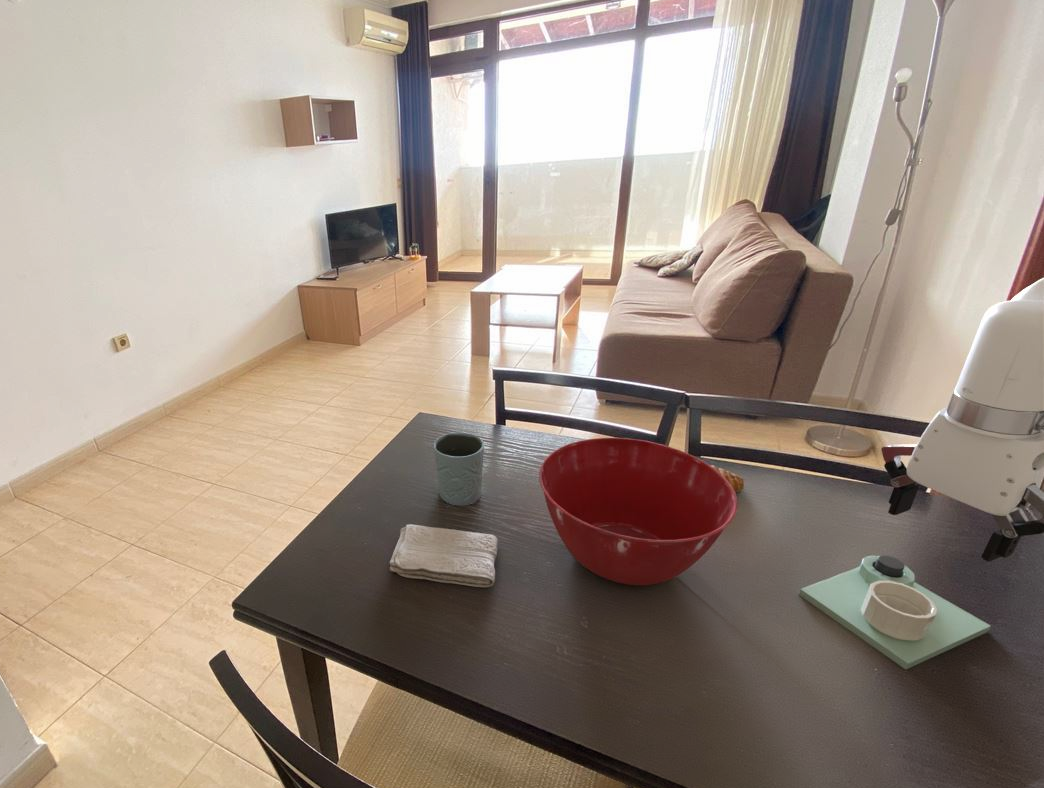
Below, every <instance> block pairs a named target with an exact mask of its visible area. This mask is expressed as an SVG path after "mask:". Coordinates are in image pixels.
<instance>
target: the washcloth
mask: <svg viewBox="0 0 1044 788" xmlns="http://www.w3.org/2000/svg"><path fill="white" fill-rule="evenodd" d="M399 532H400V535H399V539H398V540H397V543H396V545H395V548H394V550H393V553H392V556H391V559H390V561H389V565H390V566H389V571H390V572H393V573H396V574H397V575H399V576H401V577H404V578H407V579H416V580H426V581H432V582H436V583H437V582H438V583H444V584H454V585H460V586H468V587H473V588H474V587H475V588H491V587H492V586H495V582H496V569H495V563H496V559H497V556H498V545H499V543H498V542H499V540H498V538H497V536H495V535H494V534H489V533H482V532H481V533H480V532H472V531H466V530H458V529H454V528H453V529H452V528H451V529H449V528H443V527H433V526H426V525H418V524H411V523H409V524H406V525H405V527H402V528H400V530H399Z"/></svg>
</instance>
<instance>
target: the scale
mask: <svg viewBox="0 0 1044 788" xmlns="http://www.w3.org/2000/svg"><path fill="white" fill-rule="evenodd" d="M879 556H880V555H868V556H865V557H863V558H862V559H861V562H860V565H859V566H858V567H855V568H853V569H850V570H848V571H845V572H842V573H839V574H837V575H835V576H832V577H829V578H826V579H824V580H821V581H819V582H818V581H817V582H816V583H813V584H810V585H808V586H805V587H803V588H800V590H799V593H798V595H799V596H800V597H801V598H803V599H804V600H806V601H807V602H809V603H810V604H812V605H813V606H814V607H815V608H817V609H819V610H820V611H821V612H823V613H824V614H826V615H827V616H829V617H830V618H832V619H833V620H834V621H835V622H837V623H839V625H841V626H843V627H844V628H846V629H847V630H849V631H850V632H851V633H853V634H854V635H856V636H857V637H858V638H859V639H861V640H863V641H864V642H866V643H867V644H869V645H870V646H871V647H873V648H874V649H876V650H877V651H878V652H880V653H881V654H883V655H884V656H886V657H887V658H889V660H891V661H892V662H894V663H895V664H897V665H898V666H900V667H901V668H903V669H904V670H908V669H910V668H913V667H914V666H917V665H919V664H921V663H923V662H926V661H928V660H930V659H932V658H935V657H936V656H939V655H941V654H943V653H945V652H948V651H949V650H952V649H954V648H956V647H958V646H961V645H963V644H964V643H967V642H969V641H971V640H974V639H976V638H978V637H980V636H982V635H985V634H987V633H989V631H990V630H991V627H992V626H991V624H989V623H987V622H985V621H983V620H982V619H980V618H978V617H976V616H975V615H973V614H971V613H969V612H968V611H966V610H964V609H962V608H960V607H959V606H957V605H956V604H954V603H951V602H950V601H948V600H947V599H945V598H943V597H941V596H939V595H938V594H936V593H934V592H933V591H931V590H929V589H927V588H925V587H924V586H922V585H920V584H919V583H917V582H915V581H916V575H915V573H914V572H913V570H911V569H910V568H909V567H908V566H907V565H905V564H904V566H905V567H904V569H903V572H902V574H901V576H900V577H898V578H895V577H889V576H886V575H883V574H882V573H880V572H878V571H877V570H876V569H875V567H874V566H875V563H876V561H877V559H878V557H879ZM876 581H893V582H897V583H902V584H904V585H907V586H909V587H912V588H914V589H916V590H918V591H920V592H921V593H923V594H925V595H926V596H927V597H928V598H930V599H931V600H932V601H933V602H934V604H935V606H936V607H937V613H936V616H935V618H934V620H933V622H932V624H931V626H930V628H929V630H928V632H927V634H926V636H925V637H924V638H922V639H920V640H901V639H896V638H893V637H890V636H888V635H886V634H883V633H882V632H880V631H878V630H877V629H875V628H874V627H873V626H871V625H870V624H869V623H868V622H867V620H866V619H865V618H864V617H863V615H862V613H861V607H862V605H863V602H864V600H865V597H866V595H867V592H868V590H869V588H870V586H871V584H872V583H874V582H876Z"/></svg>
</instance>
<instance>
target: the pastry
mask: <svg viewBox="0 0 1044 788" xmlns="http://www.w3.org/2000/svg"><path fill="white" fill-rule="evenodd" d="M710 466H711V467H713V468H714V469H715V470H717V471H718V472H719V473H720V474H721V475H723V476H724V478H725V479H726V480H727V481H728V482H729V483H730V485H731V486H732V488H733V490H734V492H735V493H738V492H739V493H740V492H742V490H744V487H745V485H744V484H745V483H744V481H745V480H744V479H743V477H741V476H739V475H738V474H735V473H733V472H732V471H728V470H725V469H724V468H722V467H721V468H718V467H716V466H715V465H713V464H712V465H710Z"/></svg>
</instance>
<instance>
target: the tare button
mask: <svg viewBox="0 0 1044 788" xmlns="http://www.w3.org/2000/svg"><path fill="white" fill-rule="evenodd" d="M878 556H879V557H878V559H877V561H876V563H875V566H874V567H875V569H876V570H877V571H878V572H880V573H882V574H883V575H886V576H889V577H895V578H898V577H900V576H901V574H902V572H903V569H904V567H905V566H906V565H905V564H904V562H902V561H901V560H900V559H898V558H897V557H894V556H891V555H885V554H883V555H878ZM904 565H905V566H904Z"/></svg>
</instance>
